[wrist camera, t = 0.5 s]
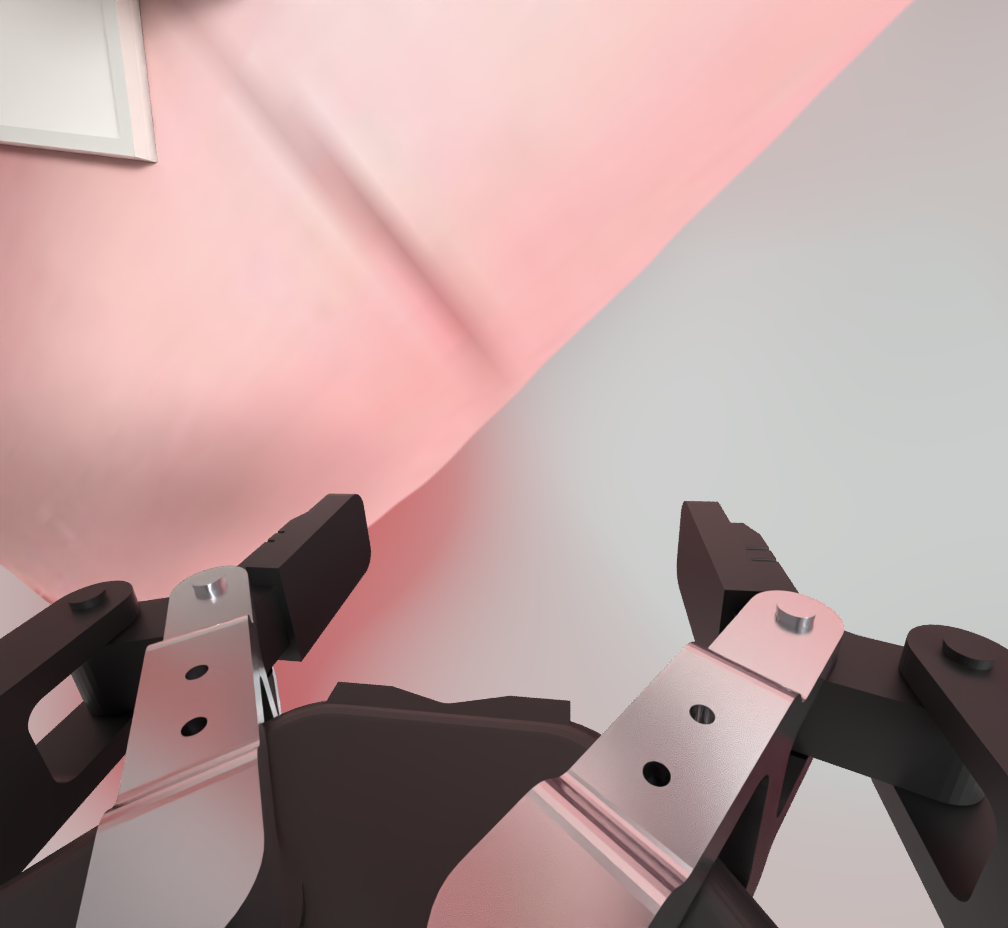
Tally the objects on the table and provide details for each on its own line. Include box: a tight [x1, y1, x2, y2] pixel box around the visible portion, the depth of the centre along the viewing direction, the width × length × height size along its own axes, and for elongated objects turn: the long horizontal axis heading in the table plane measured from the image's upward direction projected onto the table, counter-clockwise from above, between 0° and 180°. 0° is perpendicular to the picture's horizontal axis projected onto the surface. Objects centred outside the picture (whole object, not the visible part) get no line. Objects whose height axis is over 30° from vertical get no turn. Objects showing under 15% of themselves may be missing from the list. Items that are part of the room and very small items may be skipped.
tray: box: [0, 0, 157, 162], centre depth 35 cm, size 16×16×2 cm
